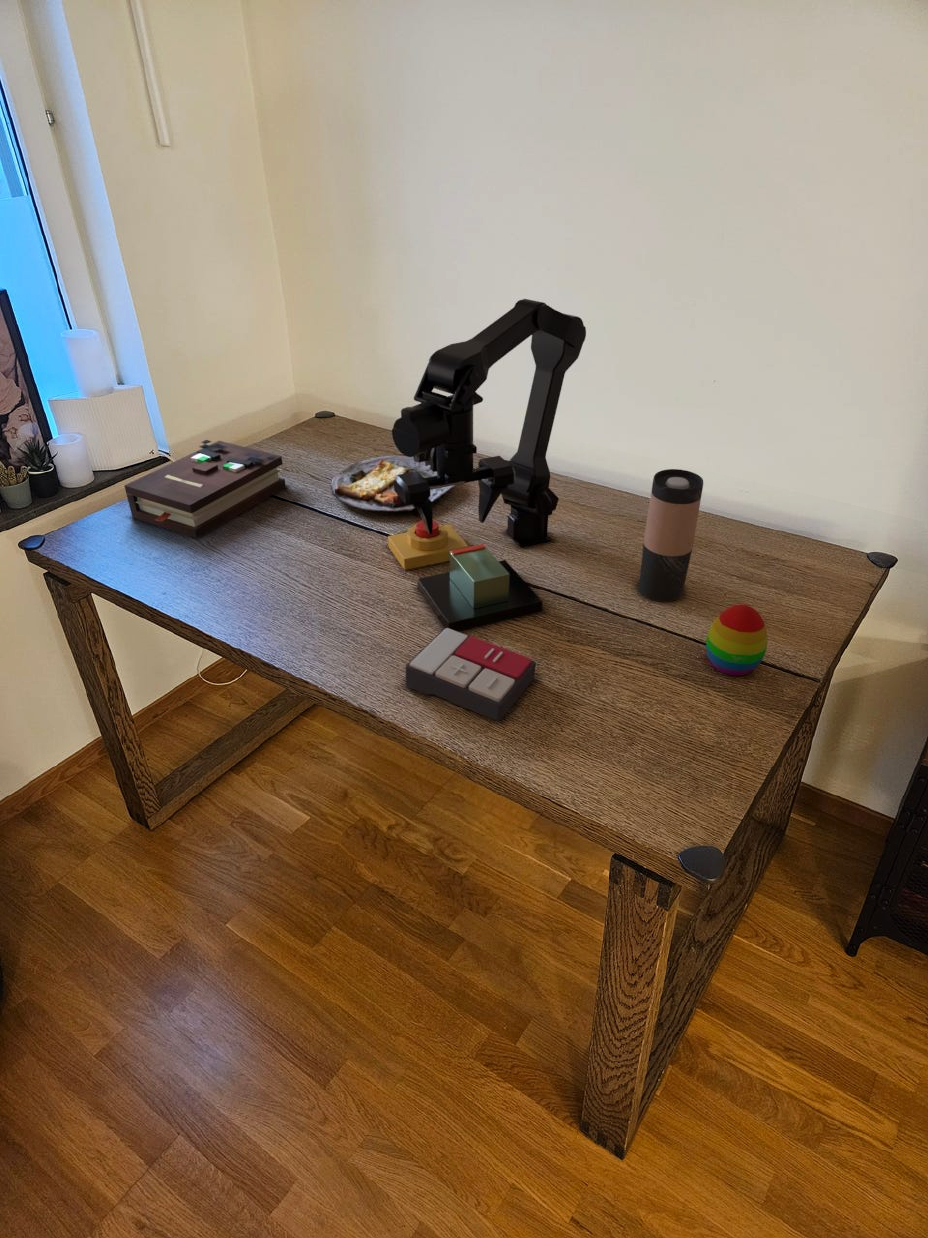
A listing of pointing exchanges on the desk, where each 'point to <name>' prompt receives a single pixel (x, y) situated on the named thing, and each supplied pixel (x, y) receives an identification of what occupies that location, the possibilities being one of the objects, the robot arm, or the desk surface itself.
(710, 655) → the decorative egg
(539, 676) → the desk surface
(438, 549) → the button block
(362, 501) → the food plate
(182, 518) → the decorative book
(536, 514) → the robot arm
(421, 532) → the button
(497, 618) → the black square platform
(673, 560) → the travel mug
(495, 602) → the box
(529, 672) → the calculator
